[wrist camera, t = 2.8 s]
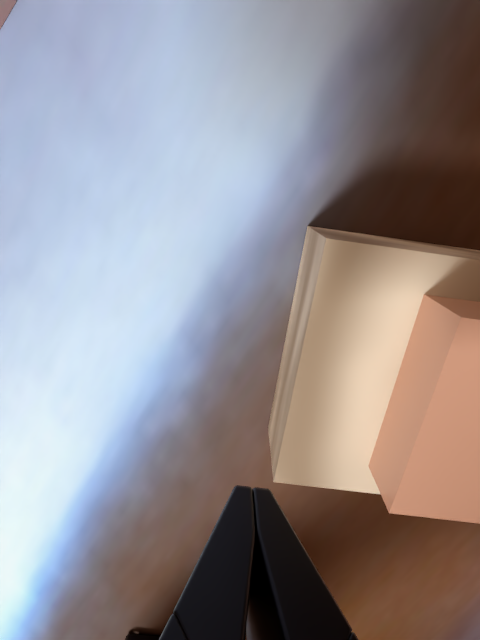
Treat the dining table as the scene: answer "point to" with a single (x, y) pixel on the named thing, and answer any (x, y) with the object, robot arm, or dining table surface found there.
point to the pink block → (434, 418)
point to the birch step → (352, 348)
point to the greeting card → (5, 9)
